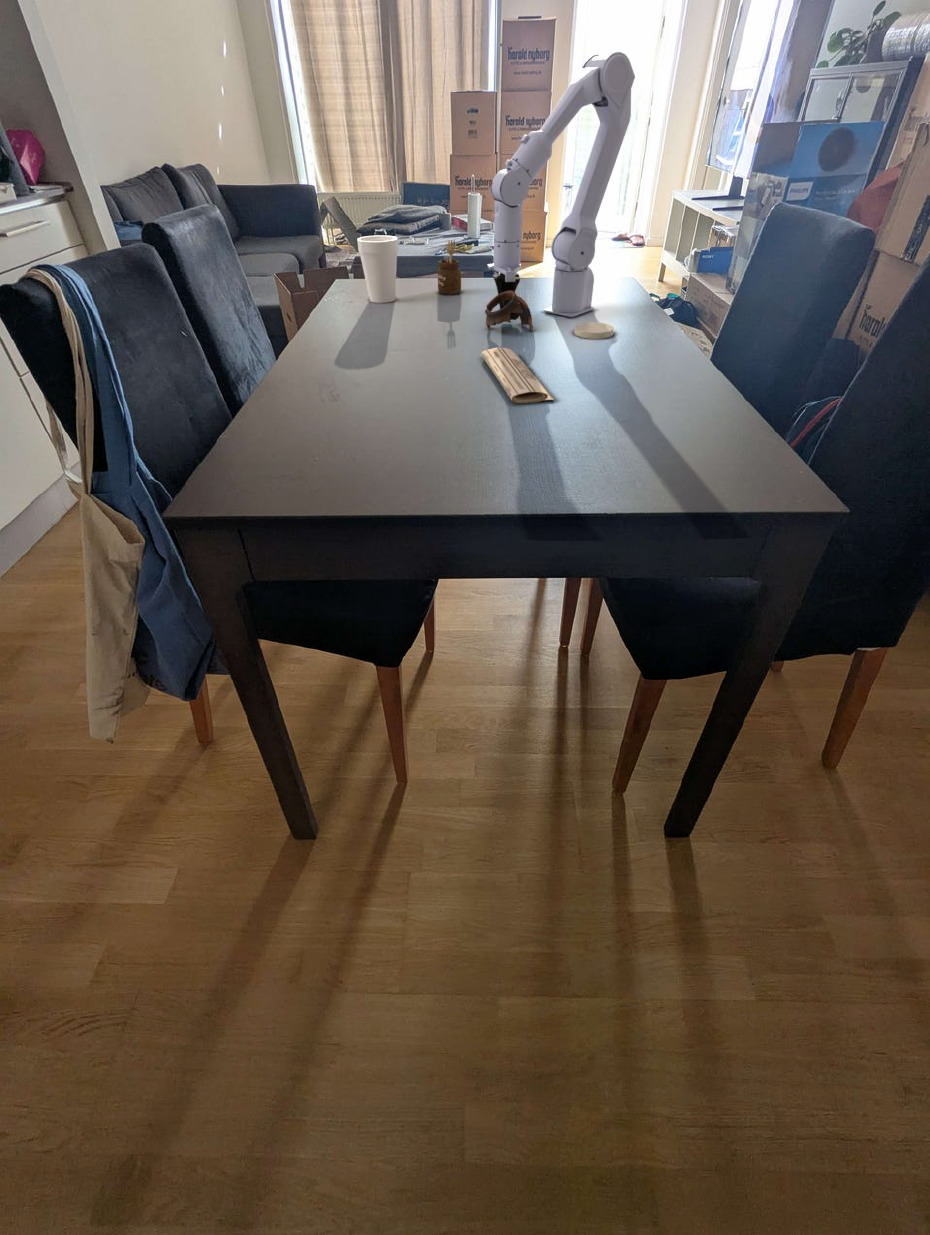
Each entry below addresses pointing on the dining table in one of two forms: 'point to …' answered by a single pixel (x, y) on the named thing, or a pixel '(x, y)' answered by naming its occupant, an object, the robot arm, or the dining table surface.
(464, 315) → the dining table surface
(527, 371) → the newspaper
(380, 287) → the foam cup
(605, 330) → the tan round disc
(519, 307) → the brown curved piece
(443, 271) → the utensil holder
